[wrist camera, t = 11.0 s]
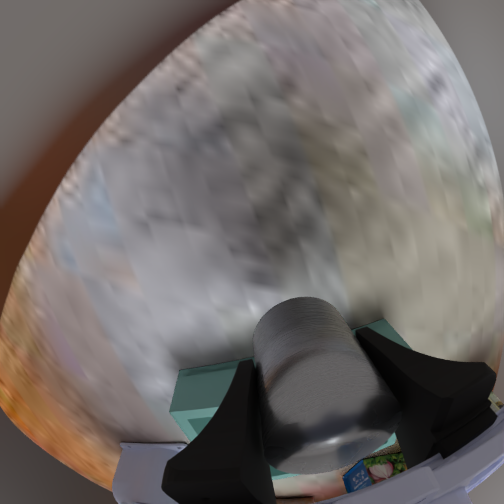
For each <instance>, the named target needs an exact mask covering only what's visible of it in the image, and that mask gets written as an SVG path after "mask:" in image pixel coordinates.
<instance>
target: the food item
mask: <svg viewBox="0 0 504 504" xmlns="http://www.w3.org/2000/svg"><path fill="white" fill-rule="evenodd" d="M276 503H277V504H312V503H315V501H314V497H304V498H293V499H276Z"/></svg>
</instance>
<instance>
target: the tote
mask: <svg viewBox="0 0 504 504" xmlns="http://www.w3.org/2000/svg"><path fill="white" fill-rule="evenodd" d="M366 326H367V327H369V328H371V329H372V330H374V331H376V332H377V333H379V334H381V335H383V336H385V337H386V338H388V339H390V340H392V341H394V342H396V343H398V344H400V345H402V346H404V347H406V348H409V349H411V348H410V346H409V345H408V344H407V343H406V342H405V341H404V340H403V338H402V337H401V336H400V335H399V334H398V333H397V332H396V331H395V330H394V329H393V327H392V326H391V325H390V324H389V323H388V322H387V321H386V320H385V319H382V320H379V321H376V322H373V323H370V324H368V325H365V326H362V327H359V328H356V329H353V330H351V331H352V332H353V334H354V335H355V330H357V329H360V328H363V327H366ZM355 337H356V335H355ZM411 350H412V349H411ZM248 359H253V362H254V365H255V358H254V357H250V358H246V359H241V360H236V361H231V362H226V363H221V364H215V365H209V366H204V367H197V368H191V369H184V370H180V371H179V375H178V379H177V382H176V386H175V390H174V394H173V398H172V402H171V406H170V411H169V412H170V414H171V415H172V417H173V418H174V420H175V421H176V422H177V424H178V425H179V427H180V428H181V429H182V431H183V432H184V434H185V435H186V436H187V438H188V439H189V440H190V441H192V440H193V439H194V438H195V437H196V436H197V435H198V434H199V433H200V432H201V431H202V430H203V429H204V427H205V426H206V425H207V424H208V422H209V421H210V420H211V418H212V417H213V415H214V414H215V412H216V411H217V409H218V408H219V406H220V404H221V402H222V400H223V399H224V397H225V395H226V393H227V391H228V389H229V386H230V384H231V382H232V379H233V377H234V374H235V372H236V369H237V366H238V363H239V362H240V361H244V360H248ZM395 440H396V435H395V432H394V433H393V434H392V436H391V437H390V438H389V439H388V440H387V441H386V442H385V443H384V444H383V445H382V446H381V447H379V448H378V449H377V450H375V451H374V452H376V451H378V450H381V449H383V448H386V447H388V446H390V445H393V444H395ZM270 471H271V477H272V480H276V479H282V478H287V477H292V476H297V475H302V474H291V473H286V472H282V471H280V470H277V469H275V468H273V467H272V466H271V465H270Z"/></svg>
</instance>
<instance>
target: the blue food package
mask: <svg viewBox="0 0 504 504" xmlns="http://www.w3.org/2000/svg"><path fill="white" fill-rule="evenodd" d="M406 470H407V467H406V463H405V460H404V457H403V454H402V452H400V453H398V454H389V455H383V456H378V457H373V458H369V459H364V460H361V461H360V462H358V463H357V464H356V465H355V466H354V467H353V468H352V469H351V470H350V471H349V472H348V473H346V474H345V475H344V476H343V481H344V484H345V487H346V491H347V494H348V493H351V492H354V491H357V490H360V489H363V488H366V487H369V486H371V485H374V484H376V483H379V482H381V481H384V480H386V479H388V478H391V477H393V476H395V475H397V474H400V473H402V472H404V471H406Z"/></svg>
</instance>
